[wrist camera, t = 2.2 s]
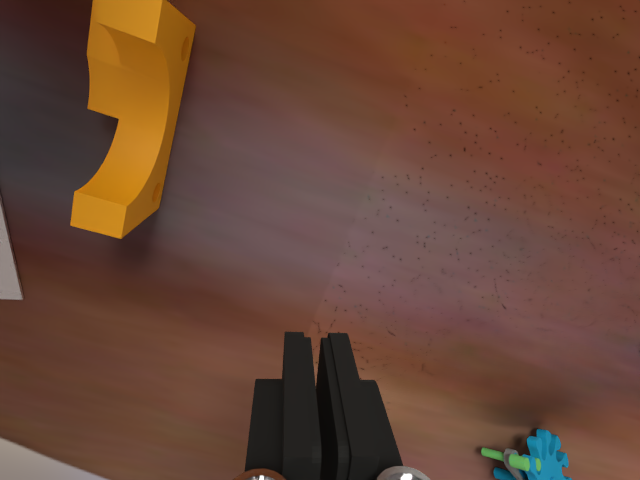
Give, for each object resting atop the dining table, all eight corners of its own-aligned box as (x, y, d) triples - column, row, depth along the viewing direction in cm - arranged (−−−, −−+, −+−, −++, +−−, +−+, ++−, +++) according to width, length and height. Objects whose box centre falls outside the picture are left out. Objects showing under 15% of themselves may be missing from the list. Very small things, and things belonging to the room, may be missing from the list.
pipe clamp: (122, -3, 21) (57, -45, 15) (196, 26, 22) (162, -3, 16) (95, 188, 25) (34, 216, 19) (159, 207, 26) (121, 238, 20)
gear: (583, 464, 38) (576, 579, 32) (524, 450, 42) (508, 549, 37) (540, 403, 34) (523, 521, 28) (480, 395, 39) (455, 495, 33)
